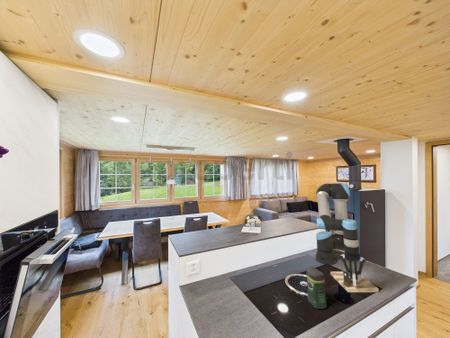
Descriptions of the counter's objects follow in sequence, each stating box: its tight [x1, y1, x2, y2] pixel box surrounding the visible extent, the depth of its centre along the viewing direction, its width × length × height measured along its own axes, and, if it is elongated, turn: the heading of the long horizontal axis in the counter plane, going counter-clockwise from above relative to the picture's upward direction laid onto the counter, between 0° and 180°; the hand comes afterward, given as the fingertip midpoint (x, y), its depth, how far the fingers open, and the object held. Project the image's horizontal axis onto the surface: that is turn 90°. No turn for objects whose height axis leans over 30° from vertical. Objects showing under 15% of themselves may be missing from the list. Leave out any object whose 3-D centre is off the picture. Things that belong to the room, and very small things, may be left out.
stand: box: [330, 271, 380, 293], centre depth 120 cm, size 20×18×2 cm
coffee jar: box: [305, 266, 328, 310], centre depth 102 cm, size 10×8×19 cm
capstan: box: [342, 267, 362, 286], centre depth 117 cm, size 18×10×8 cm, turn 129°
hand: (354, 284), depth 110 cm, fingers closed
